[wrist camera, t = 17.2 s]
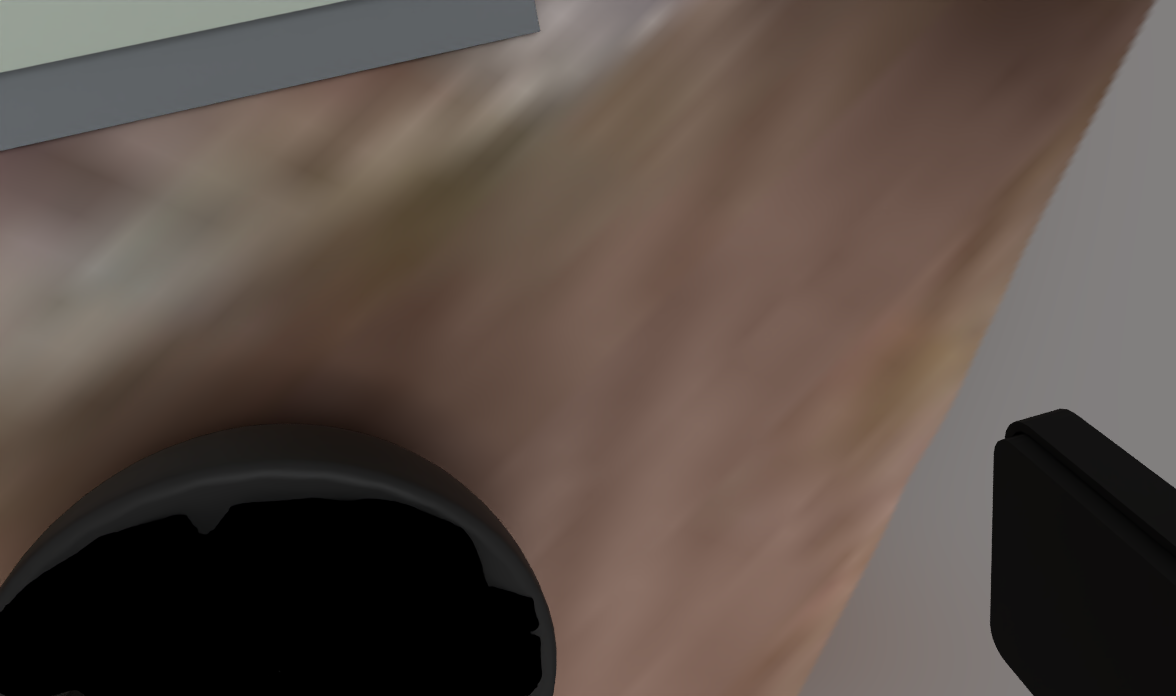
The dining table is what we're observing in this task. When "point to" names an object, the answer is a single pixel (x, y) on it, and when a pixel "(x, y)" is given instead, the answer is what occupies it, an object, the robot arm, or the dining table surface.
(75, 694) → the robot arm
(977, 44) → the dining table surface
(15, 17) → the lid
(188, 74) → the mat
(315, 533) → the coal bowl
